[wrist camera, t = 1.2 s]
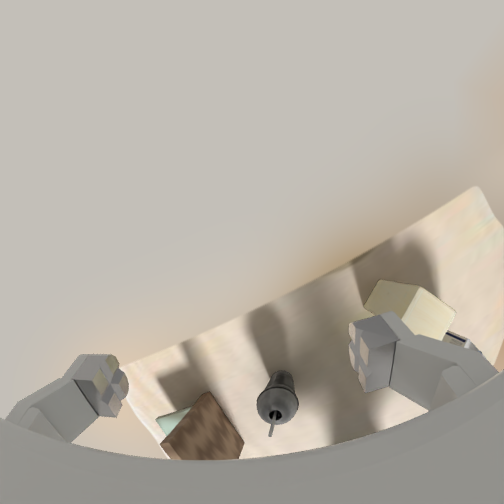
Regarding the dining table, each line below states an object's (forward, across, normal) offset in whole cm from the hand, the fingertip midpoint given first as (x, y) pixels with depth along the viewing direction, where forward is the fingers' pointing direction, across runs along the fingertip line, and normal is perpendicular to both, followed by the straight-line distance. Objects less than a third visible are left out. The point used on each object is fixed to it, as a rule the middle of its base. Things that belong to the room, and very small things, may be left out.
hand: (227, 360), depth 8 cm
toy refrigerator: (+38, +24, -24) cm, 51 cm away
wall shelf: (+34, -18, -47) cm, 61 cm away
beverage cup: (+36, +1, -36) cm, 51 cm away
